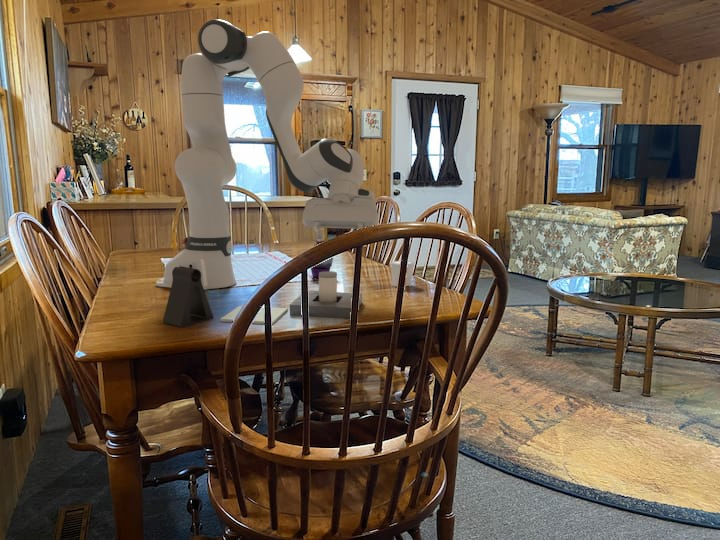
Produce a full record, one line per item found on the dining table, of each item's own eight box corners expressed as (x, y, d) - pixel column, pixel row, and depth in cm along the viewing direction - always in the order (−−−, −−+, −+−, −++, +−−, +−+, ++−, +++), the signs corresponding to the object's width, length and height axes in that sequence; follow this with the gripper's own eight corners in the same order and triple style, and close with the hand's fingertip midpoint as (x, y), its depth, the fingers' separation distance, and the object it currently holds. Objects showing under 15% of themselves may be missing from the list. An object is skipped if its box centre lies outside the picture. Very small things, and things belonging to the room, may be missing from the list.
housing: (289, 314, 124) (289, 304, 123) (305, 299, 138) (305, 290, 138) (352, 318, 122) (353, 308, 121) (362, 303, 136) (362, 293, 136)
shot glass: (411, 288, 155) (412, 264, 154) (388, 286, 156) (389, 263, 155) (414, 283, 161) (414, 261, 160) (391, 282, 163) (392, 259, 161)
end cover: (316, 310, 128) (317, 274, 126) (320, 306, 132) (321, 270, 131) (334, 311, 127) (335, 275, 126) (338, 307, 132) (338, 271, 130)
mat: (220, 321, 117) (220, 318, 117) (240, 307, 129) (240, 305, 129) (272, 324, 116) (272, 322, 115) (287, 310, 127) (287, 308, 127)
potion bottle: (314, 274, 173) (314, 237, 171) (338, 276, 170) (339, 239, 167) (302, 278, 165) (302, 240, 163) (327, 281, 162) (327, 242, 160)
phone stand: (180, 328, 112) (178, 272, 110) (162, 323, 115) (160, 269, 113) (213, 318, 119) (211, 266, 117) (195, 314, 123) (193, 263, 120)
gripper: (304, 190, 144) (295, 229, 136) (379, 191, 141) (374, 232, 133) (308, 205, 149) (300, 244, 141) (380, 207, 146) (375, 247, 138)
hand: (336, 238), depth 137 cm, fingers open, 8 cm apart
